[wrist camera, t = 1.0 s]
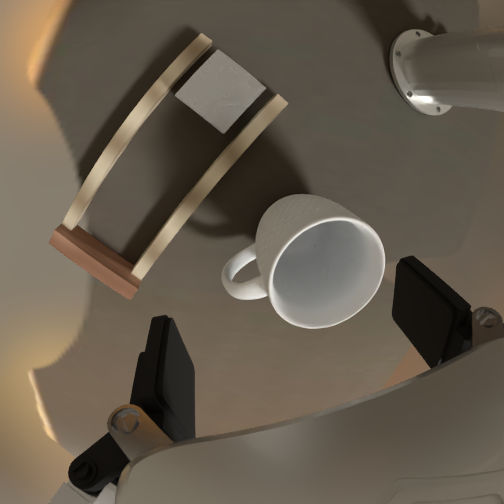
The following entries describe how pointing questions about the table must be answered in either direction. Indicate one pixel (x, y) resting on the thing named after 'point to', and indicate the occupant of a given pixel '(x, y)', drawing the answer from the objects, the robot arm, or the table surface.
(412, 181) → the table surface
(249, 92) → the block
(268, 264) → the mug
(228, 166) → the u-shaped frame
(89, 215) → the table surface
